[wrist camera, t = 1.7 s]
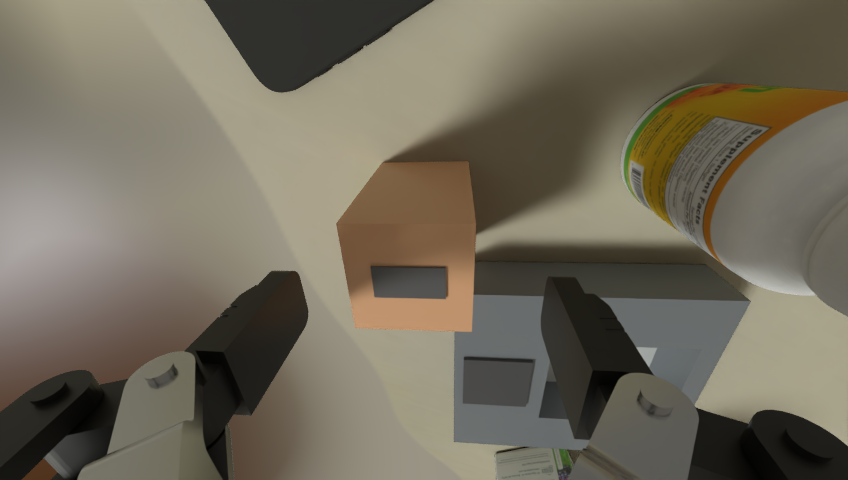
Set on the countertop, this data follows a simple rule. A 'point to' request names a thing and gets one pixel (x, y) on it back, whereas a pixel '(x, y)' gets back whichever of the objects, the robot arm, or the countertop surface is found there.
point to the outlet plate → (528, 359)
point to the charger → (411, 248)
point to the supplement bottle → (751, 181)
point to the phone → (305, 33)
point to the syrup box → (533, 464)
